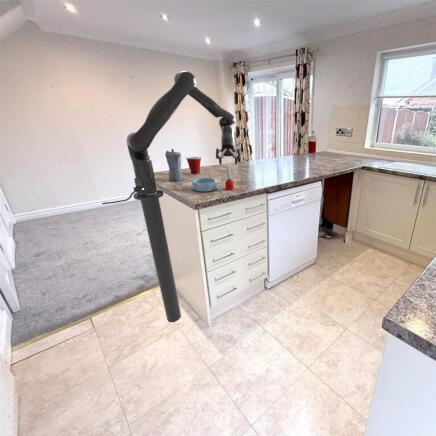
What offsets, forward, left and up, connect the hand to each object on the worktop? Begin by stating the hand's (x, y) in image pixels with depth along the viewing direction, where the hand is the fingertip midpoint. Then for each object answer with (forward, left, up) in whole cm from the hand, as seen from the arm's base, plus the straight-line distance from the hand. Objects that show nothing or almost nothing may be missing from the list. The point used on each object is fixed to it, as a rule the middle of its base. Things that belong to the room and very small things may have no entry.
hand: (228, 164), depth 146 cm
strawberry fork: (-3, -2, -14) cm, 15 cm away
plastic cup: (+14, +44, -14) cm, 48 cm away
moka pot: (-6, +41, -14) cm, 44 cm away
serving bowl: (-11, +10, -14) cm, 20 cm away
